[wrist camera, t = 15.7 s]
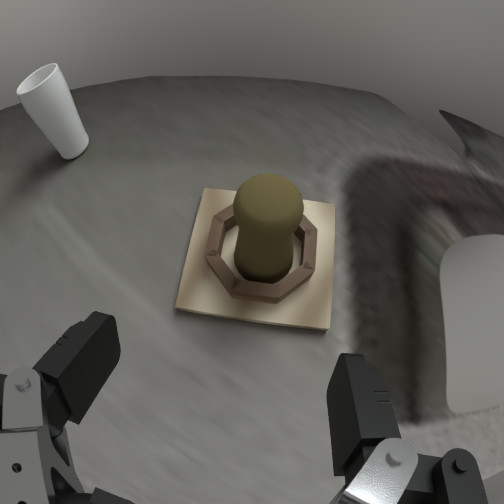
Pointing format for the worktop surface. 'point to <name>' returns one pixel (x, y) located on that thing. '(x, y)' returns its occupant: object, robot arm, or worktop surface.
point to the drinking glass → (54, 110)
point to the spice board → (255, 293)
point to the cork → (266, 227)
